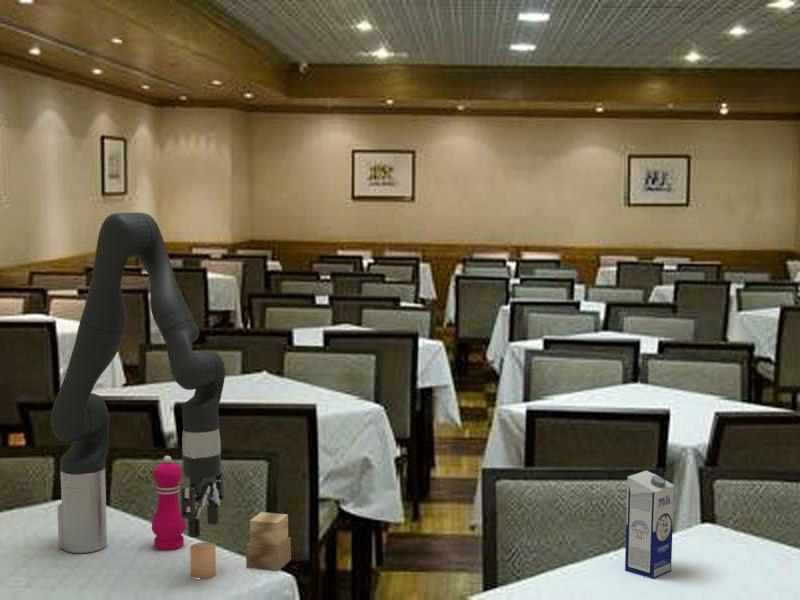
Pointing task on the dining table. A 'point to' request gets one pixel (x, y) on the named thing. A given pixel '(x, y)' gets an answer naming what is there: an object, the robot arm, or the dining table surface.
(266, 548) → the tower base
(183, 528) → the pepper mill
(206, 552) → the rounded stamp handle
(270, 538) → the tower top
